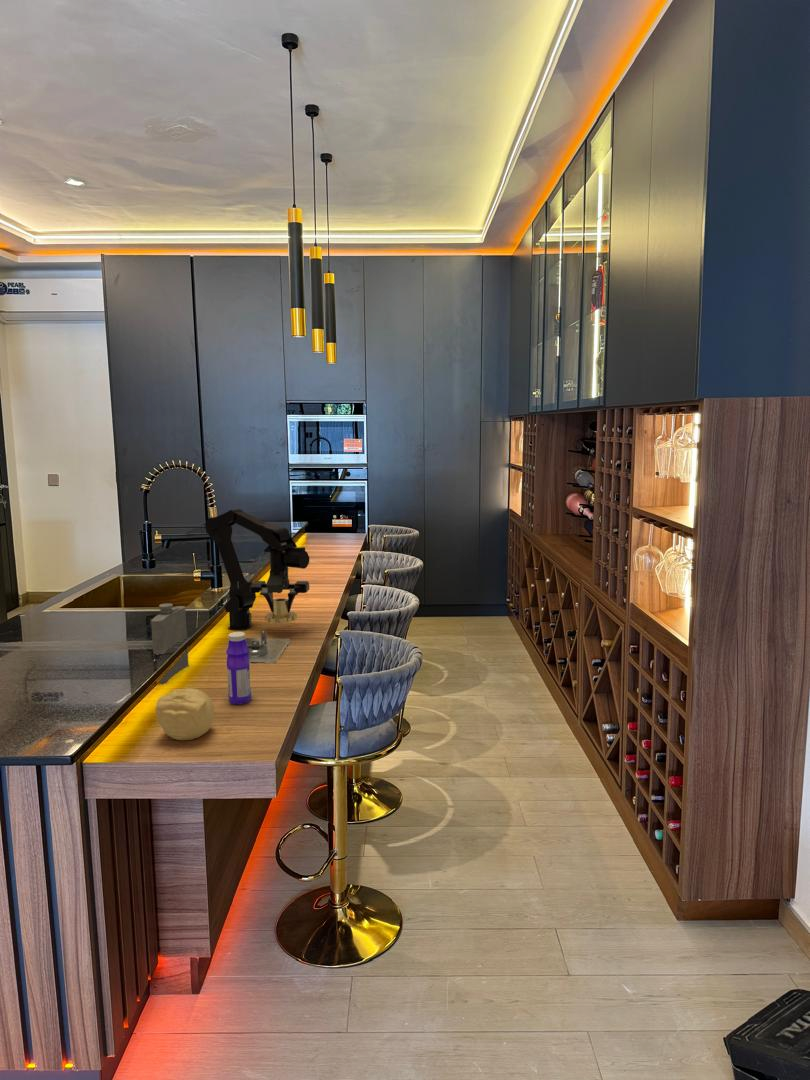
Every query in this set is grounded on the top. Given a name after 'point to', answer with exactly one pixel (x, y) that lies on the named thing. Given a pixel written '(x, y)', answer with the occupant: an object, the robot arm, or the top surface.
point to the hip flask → (170, 635)
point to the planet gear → (280, 612)
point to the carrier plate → (271, 648)
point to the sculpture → (185, 713)
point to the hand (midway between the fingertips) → (280, 612)
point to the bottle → (238, 669)
